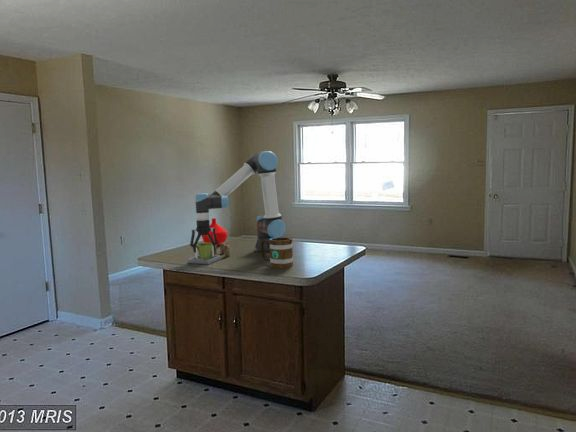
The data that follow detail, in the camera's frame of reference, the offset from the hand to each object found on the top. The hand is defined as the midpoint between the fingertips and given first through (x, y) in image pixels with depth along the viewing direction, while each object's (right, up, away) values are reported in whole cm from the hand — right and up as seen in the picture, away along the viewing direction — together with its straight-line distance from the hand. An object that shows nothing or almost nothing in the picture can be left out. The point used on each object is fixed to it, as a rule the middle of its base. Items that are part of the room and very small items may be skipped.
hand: (204, 257), depth 269 cm
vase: (-3, +3, +56) cm, 56 cm away
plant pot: (0, -1, 0) cm, 1 cm away
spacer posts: (+5, -1, +15) cm, 16 cm away
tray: (0, -3, 0) cm, 3 cm away
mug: (+43, -3, -15) cm, 46 cm away
